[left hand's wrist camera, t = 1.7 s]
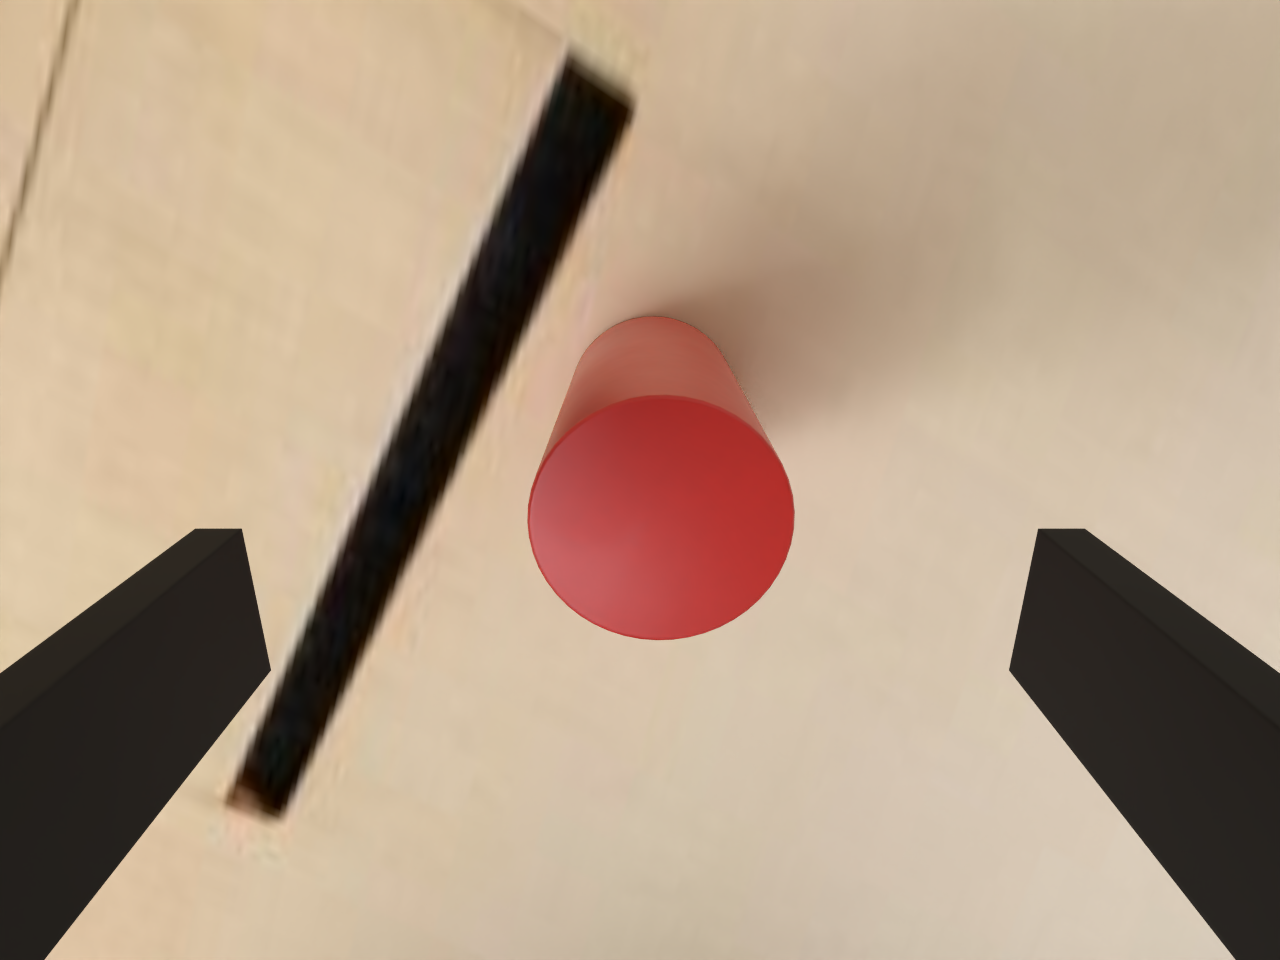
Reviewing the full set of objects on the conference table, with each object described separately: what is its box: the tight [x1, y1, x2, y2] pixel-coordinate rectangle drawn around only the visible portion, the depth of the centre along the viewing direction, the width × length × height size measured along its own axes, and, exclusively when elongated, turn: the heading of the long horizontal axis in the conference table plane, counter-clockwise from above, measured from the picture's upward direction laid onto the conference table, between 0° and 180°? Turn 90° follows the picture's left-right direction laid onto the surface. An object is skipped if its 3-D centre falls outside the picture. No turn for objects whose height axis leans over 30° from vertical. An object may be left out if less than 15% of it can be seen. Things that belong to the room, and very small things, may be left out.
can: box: [528, 316, 795, 640], centre depth 21 cm, size 6×6×11 cm
